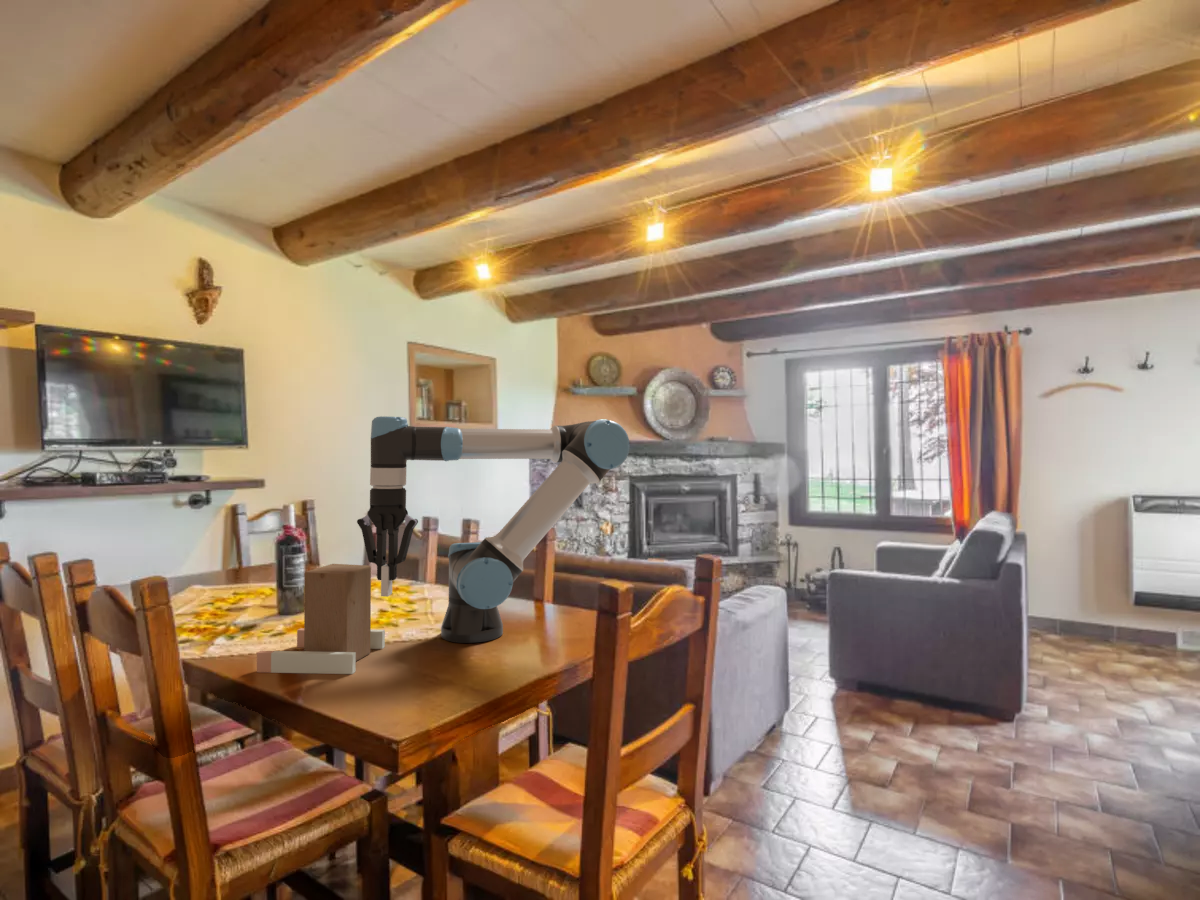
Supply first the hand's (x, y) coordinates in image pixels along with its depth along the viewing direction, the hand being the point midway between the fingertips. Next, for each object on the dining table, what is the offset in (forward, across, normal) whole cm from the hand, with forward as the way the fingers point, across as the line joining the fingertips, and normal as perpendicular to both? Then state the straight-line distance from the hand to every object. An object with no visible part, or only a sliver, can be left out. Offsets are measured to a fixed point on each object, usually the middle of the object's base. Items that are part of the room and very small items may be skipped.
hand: (386, 594), depth 140 cm
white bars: (+14, +14, 0) cm, 20 cm away
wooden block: (+15, +11, 0) cm, 18 cm away
